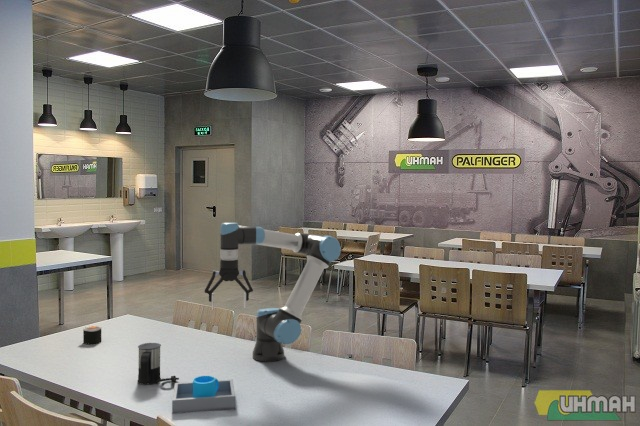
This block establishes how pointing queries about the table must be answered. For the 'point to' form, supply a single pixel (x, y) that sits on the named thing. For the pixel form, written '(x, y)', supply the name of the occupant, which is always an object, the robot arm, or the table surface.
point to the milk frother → (150, 364)
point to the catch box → (203, 398)
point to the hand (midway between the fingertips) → (228, 308)
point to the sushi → (92, 335)
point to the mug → (204, 386)
